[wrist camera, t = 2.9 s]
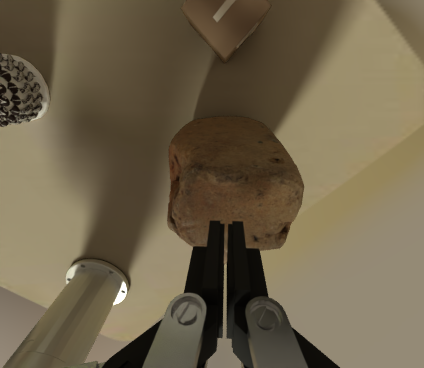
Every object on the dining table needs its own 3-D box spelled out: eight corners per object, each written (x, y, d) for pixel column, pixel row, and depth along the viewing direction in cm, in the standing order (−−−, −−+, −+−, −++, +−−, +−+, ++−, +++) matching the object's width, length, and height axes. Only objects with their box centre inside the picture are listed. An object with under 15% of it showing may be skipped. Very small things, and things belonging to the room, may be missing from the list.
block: (265, 117, 30) (326, 170, 12) (257, 167, 33) (295, 270, 15) (186, 111, 30) (130, 154, 12) (186, 162, 34) (141, 256, 15)
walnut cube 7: (225, 64, 28) (226, 60, 22) (189, 23, 26) (180, 7, 21) (263, 21, 26) (274, 5, 20) (227, -26, 24) (227, -58, 19)
